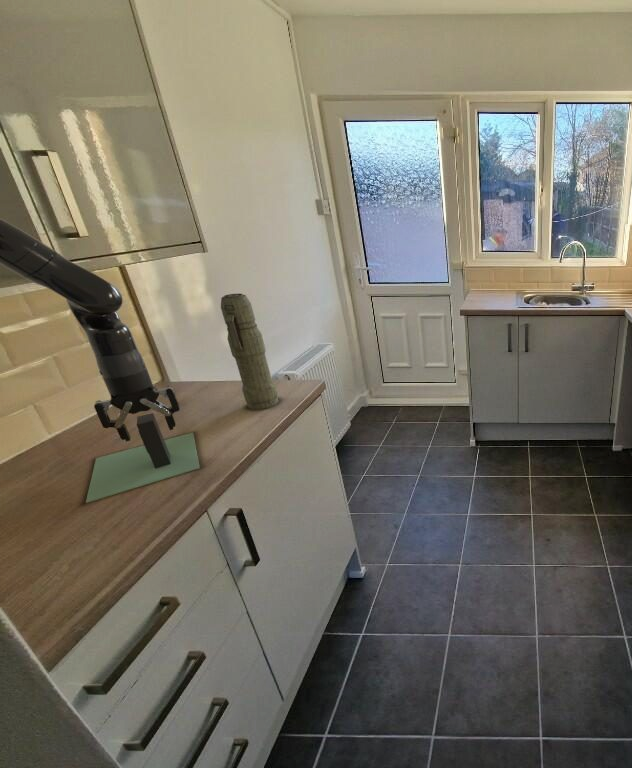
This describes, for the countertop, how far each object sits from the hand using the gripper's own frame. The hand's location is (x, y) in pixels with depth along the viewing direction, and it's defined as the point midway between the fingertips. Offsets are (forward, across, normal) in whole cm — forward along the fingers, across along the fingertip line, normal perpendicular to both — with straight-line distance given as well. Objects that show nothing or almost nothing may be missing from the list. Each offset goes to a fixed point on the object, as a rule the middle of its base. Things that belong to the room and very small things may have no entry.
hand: (150, 434), depth 99 cm
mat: (+8, +3, -2) cm, 9 cm away
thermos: (+9, -26, -21) cm, 35 cm away
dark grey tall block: (+8, 0, 0) cm, 8 cm away
